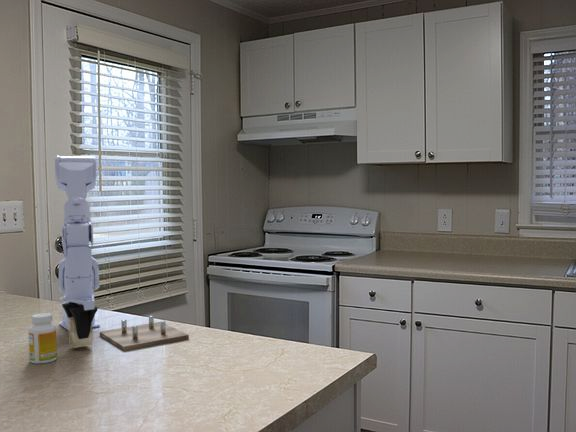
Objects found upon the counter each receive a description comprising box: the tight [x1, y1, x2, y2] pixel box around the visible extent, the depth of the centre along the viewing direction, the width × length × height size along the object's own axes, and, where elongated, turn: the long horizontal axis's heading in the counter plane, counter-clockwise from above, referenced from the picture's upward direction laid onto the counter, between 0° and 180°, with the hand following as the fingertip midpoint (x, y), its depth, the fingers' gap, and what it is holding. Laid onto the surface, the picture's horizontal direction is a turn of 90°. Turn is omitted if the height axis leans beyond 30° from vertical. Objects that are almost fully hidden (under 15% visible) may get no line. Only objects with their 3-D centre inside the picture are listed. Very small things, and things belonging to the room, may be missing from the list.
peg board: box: [99, 315, 190, 352], centre depth 141 cm, size 16×16×4 cm
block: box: [68, 317, 93, 349], centre depth 132 cm, size 4×4×6 cm
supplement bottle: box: [28, 312, 58, 365], centre depth 123 cm, size 5×5×10 cm
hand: (80, 335), depth 132 cm, fingers closed on block, 4 cm apart
